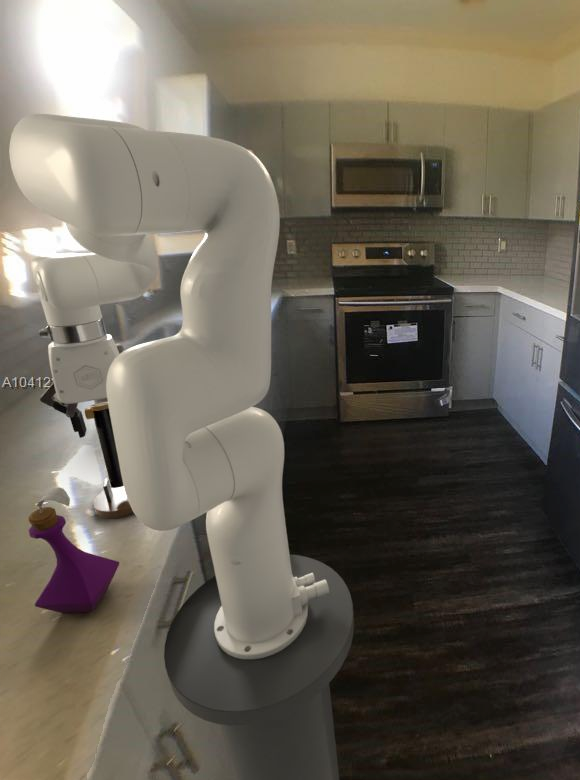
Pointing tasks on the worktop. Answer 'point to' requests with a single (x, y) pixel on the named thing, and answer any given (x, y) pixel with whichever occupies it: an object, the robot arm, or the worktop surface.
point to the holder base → (112, 502)
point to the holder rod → (106, 441)
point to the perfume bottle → (69, 563)
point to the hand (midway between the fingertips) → (105, 429)
